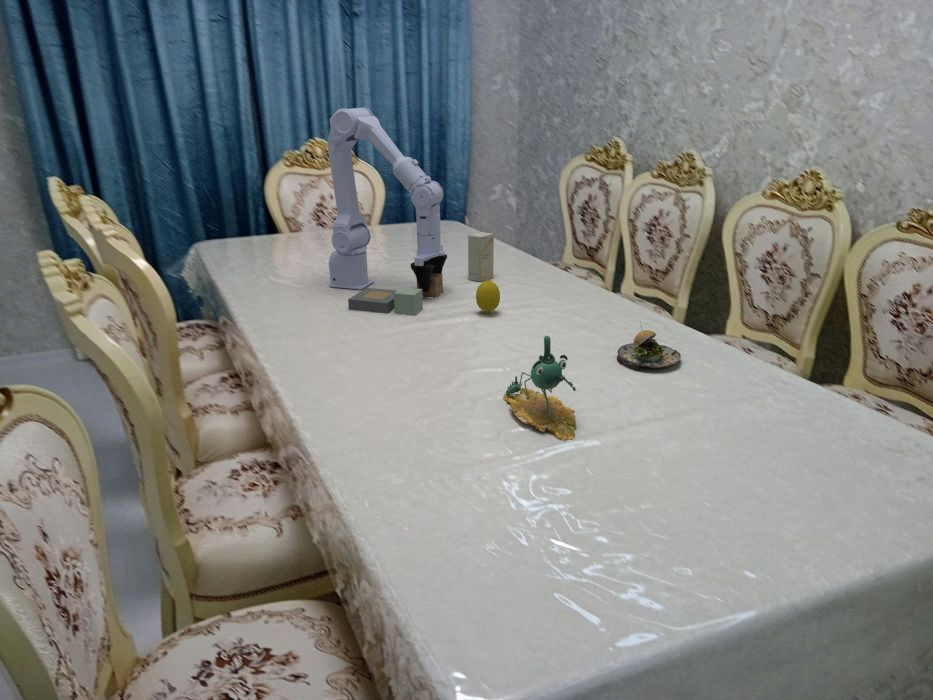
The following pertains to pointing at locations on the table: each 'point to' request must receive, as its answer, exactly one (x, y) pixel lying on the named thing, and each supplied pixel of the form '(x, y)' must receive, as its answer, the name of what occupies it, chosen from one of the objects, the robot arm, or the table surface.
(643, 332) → the burger
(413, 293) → the sage cube
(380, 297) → the charcoal block
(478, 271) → the skincare box
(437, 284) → the walnut cube
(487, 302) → the lemon
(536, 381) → the green creature figurine
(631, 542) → the table surface
